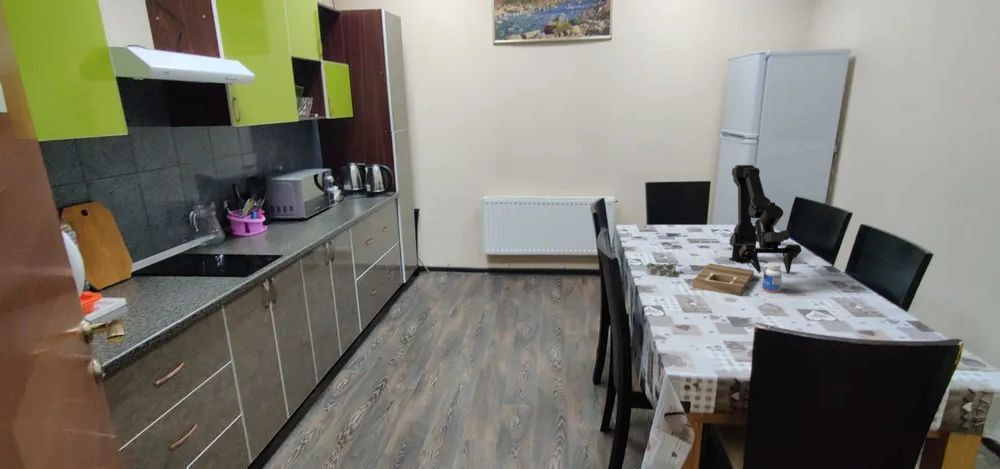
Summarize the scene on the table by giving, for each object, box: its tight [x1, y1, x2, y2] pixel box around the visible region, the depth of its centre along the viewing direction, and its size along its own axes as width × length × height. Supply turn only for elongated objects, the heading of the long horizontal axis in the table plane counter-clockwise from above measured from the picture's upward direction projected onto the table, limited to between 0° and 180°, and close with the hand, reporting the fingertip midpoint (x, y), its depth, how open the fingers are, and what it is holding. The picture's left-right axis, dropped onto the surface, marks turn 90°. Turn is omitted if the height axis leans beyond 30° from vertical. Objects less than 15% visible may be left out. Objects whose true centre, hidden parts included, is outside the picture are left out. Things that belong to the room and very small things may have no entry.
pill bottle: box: [761, 261, 783, 294], centre depth 172 cm, size 6×5×10 cm
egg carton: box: [645, 262, 677, 278], centre depth 193 cm, size 11×8×4 cm
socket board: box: [691, 263, 755, 297], centre depth 182 cm, size 22×16×3 cm
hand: (774, 272), depth 171 cm, fingers open, 9 cm apart
